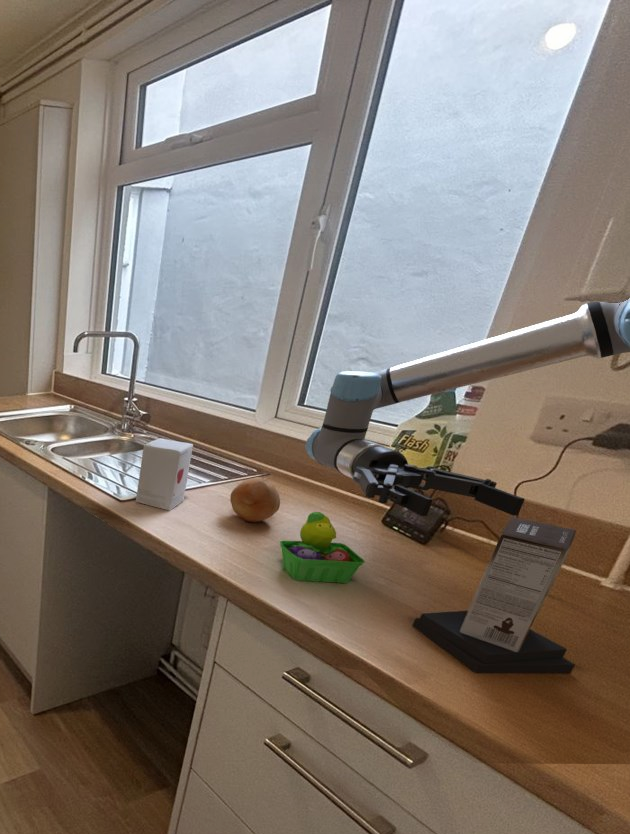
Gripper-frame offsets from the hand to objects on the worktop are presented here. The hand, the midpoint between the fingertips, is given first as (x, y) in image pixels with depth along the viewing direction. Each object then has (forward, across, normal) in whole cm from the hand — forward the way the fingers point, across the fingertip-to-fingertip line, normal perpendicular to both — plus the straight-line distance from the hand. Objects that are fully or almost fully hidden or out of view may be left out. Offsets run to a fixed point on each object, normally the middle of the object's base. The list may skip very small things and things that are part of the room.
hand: (473, 507), depth 79 cm
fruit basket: (-12, +12, -19) cm, 25 cm away
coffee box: (+10, 0, -16) cm, 18 cm away
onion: (-37, +11, -18) cm, 43 cm away
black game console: (+10, 0, -18) cm, 21 cm away
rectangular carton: (-48, +28, -18) cm, 59 cm away
